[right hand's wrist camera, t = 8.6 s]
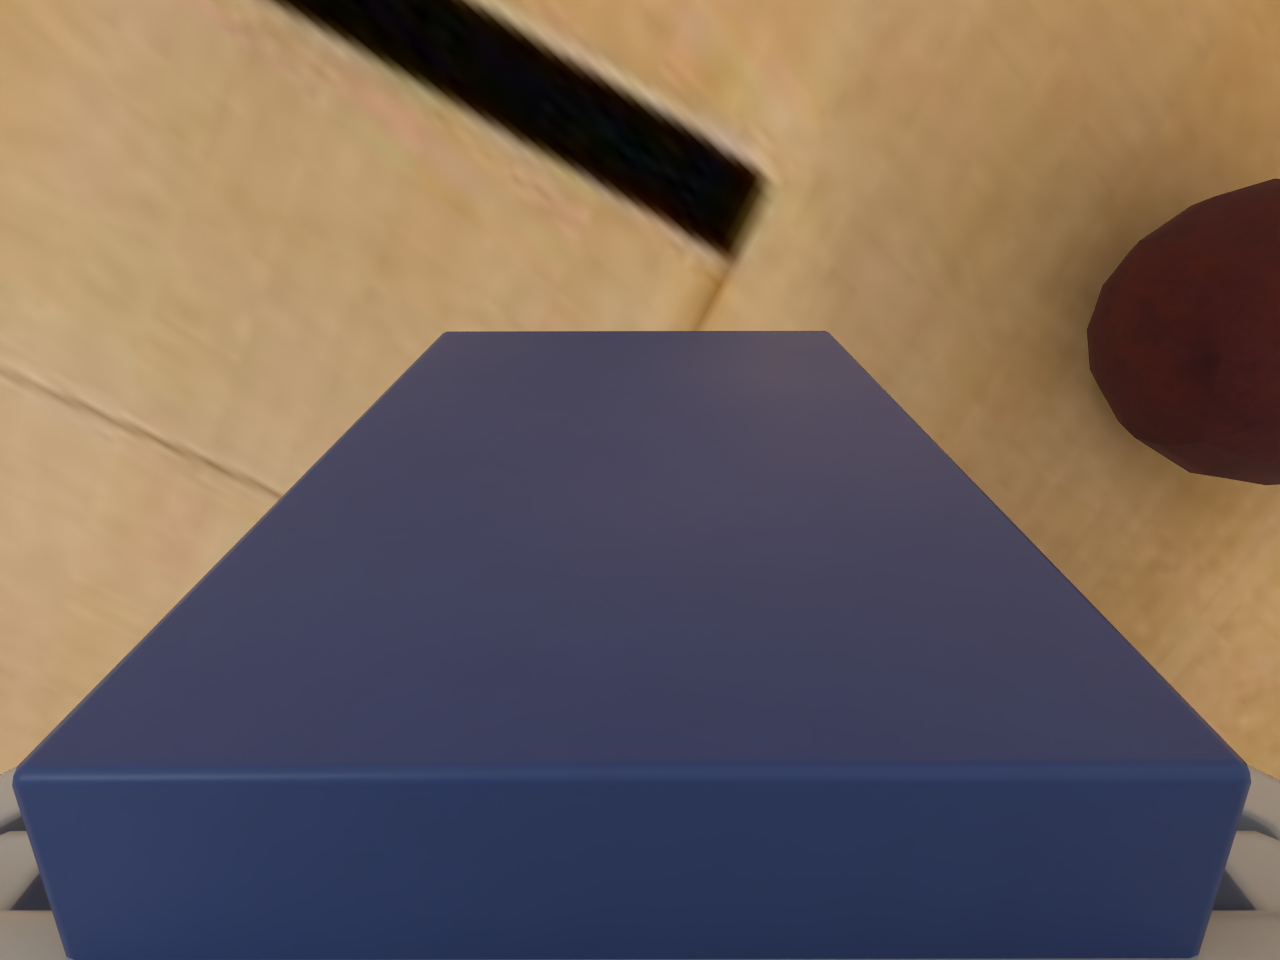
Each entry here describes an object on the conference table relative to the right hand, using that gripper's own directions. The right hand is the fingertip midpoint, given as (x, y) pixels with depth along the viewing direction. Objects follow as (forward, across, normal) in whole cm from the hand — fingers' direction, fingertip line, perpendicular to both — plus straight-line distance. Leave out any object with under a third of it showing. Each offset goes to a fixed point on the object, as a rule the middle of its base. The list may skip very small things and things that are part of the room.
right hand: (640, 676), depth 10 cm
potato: (+17, +16, +1) cm, 23 cm away
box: (+5, 0, -11) cm, 12 cm away
